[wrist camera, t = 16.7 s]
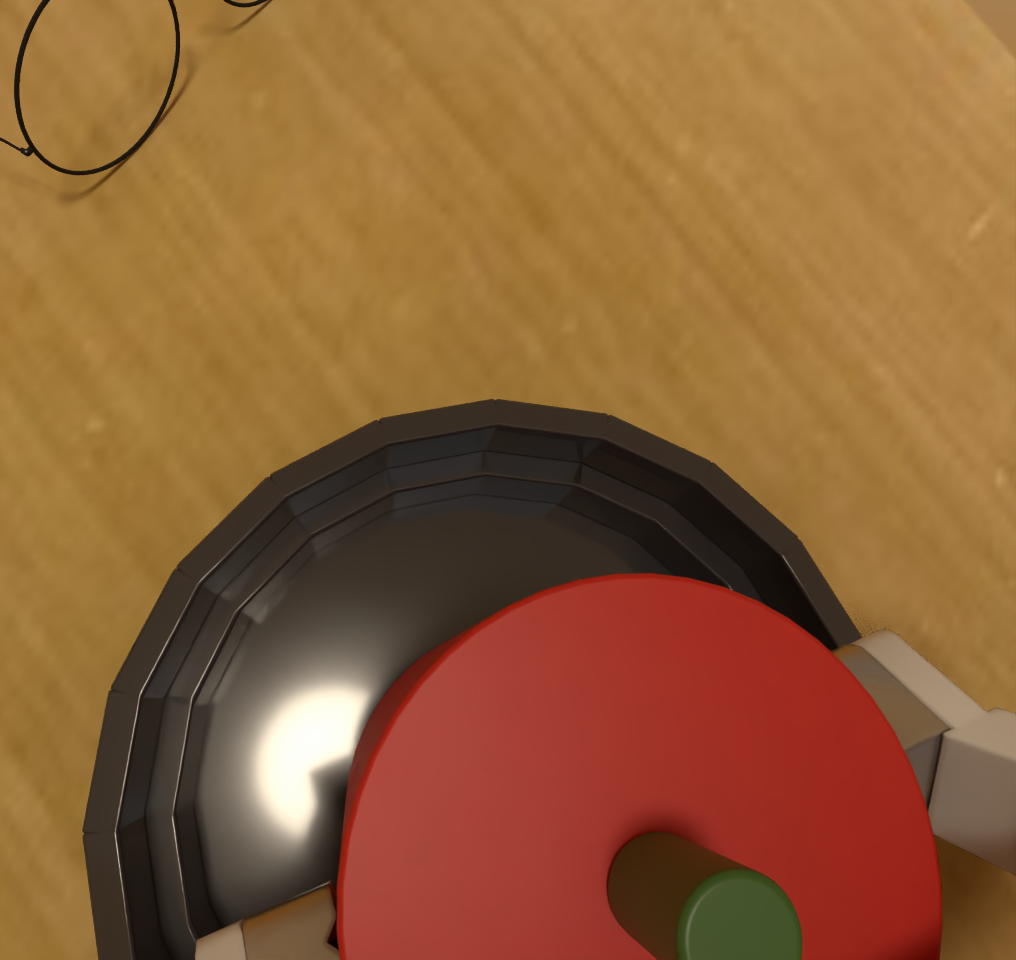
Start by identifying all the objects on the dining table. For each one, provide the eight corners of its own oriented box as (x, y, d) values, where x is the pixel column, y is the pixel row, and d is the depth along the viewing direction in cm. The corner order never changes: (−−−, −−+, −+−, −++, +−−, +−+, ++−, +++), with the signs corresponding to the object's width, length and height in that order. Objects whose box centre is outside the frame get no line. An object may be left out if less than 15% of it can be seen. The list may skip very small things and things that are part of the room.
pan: (907, 735, 23) (1035, 745, 18) (522, 1312, 19) (572, 1500, 14) (462, 340, 23) (485, 259, 19) (-9, 816, 19) (-116, 851, 15)
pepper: (733, 935, 15) (1221, 1249, 7) (385, 1046, 14) (431, 1610, 5) (643, 590, 16) (961, 478, 8) (315, 665, 15) (259, 631, 7)
